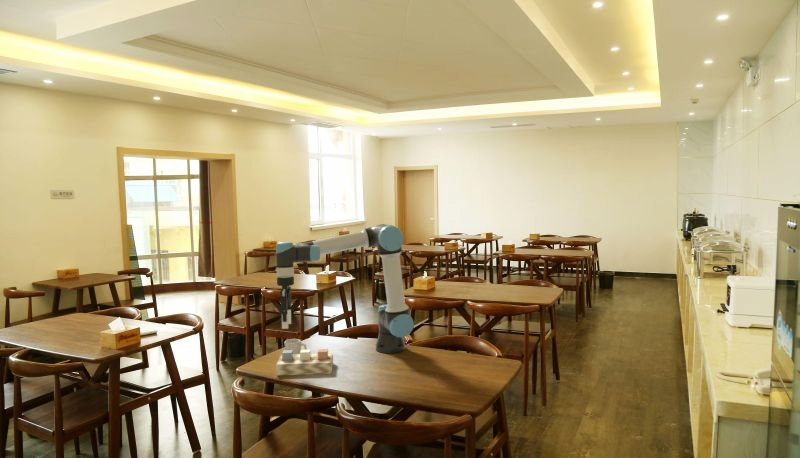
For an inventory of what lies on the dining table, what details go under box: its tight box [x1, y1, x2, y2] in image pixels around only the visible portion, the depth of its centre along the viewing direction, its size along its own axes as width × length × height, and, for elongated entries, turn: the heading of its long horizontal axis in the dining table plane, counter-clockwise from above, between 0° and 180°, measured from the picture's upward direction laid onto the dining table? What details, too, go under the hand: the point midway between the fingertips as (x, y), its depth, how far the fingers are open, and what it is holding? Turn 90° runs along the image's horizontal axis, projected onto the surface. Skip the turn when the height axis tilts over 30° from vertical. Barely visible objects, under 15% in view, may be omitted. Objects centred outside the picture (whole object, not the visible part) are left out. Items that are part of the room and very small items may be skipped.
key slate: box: [281, 349, 293, 361], centre depth 237 cm, size 4×4×5 cm
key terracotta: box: [317, 348, 329, 360], centre depth 238 cm, size 4×4×5 cm
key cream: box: [300, 348, 312, 360], centre depth 238 cm, size 4×4×5 cm
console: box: [275, 352, 334, 377], centre depth 238 cm, size 24×14×5 cm, turn 94°
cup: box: [284, 338, 307, 354], centre depth 256 cm, size 11×8×8 cm
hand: (286, 326), depth 236 cm, fingers open, 8 cm apart
